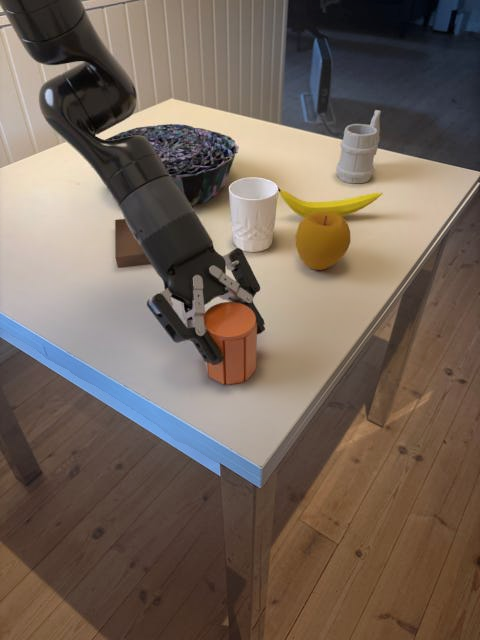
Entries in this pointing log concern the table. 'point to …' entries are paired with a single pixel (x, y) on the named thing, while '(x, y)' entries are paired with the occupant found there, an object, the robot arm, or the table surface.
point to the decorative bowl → (191, 157)
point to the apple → (322, 239)
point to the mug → (359, 151)
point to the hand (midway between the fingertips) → (239, 347)
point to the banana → (328, 204)
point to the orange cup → (232, 341)
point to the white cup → (253, 213)
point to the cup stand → (127, 246)
